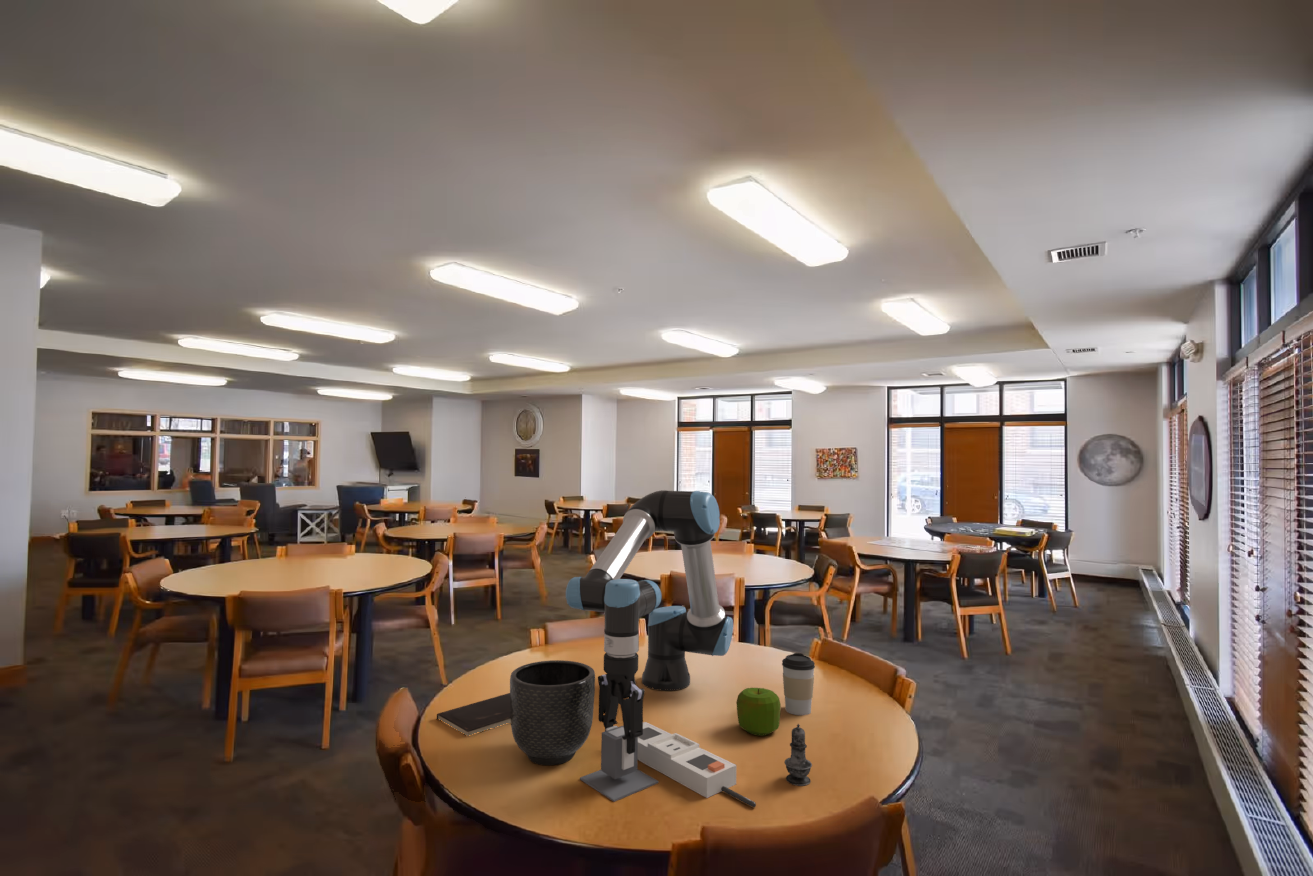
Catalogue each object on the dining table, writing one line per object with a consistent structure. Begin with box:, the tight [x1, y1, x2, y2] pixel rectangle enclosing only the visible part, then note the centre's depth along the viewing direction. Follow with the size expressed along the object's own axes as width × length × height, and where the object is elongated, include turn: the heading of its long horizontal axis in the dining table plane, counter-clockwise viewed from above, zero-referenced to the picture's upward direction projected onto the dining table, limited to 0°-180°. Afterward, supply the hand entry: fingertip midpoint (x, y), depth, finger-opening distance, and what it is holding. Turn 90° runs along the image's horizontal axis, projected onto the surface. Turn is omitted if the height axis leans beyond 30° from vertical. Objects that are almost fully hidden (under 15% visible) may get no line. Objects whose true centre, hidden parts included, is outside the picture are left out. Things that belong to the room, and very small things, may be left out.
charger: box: [600, 725, 639, 779], centre depth 137 cm, size 5×6×8 cm
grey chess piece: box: [784, 723, 813, 787], centre depth 139 cm, size 6×6×12 cm
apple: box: [735, 687, 782, 737], centre depth 165 cm, size 11×11×11 cm
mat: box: [579, 768, 659, 803], centre depth 137 cm, size 12×12×1 cm
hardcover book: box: [436, 692, 511, 737], centre depth 172 cm, size 16×23×2 cm
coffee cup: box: [781, 652, 816, 716], centre depth 179 cm, size 9×9×15 cm
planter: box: [509, 659, 596, 766], centre depth 149 cm, size 20×20×19 cm
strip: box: [637, 721, 757, 808], centre depth 142 cm, size 39×9×5 cm, turn 41°
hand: (619, 762), depth 137 cm, fingers closed on charger, 5 cm apart
